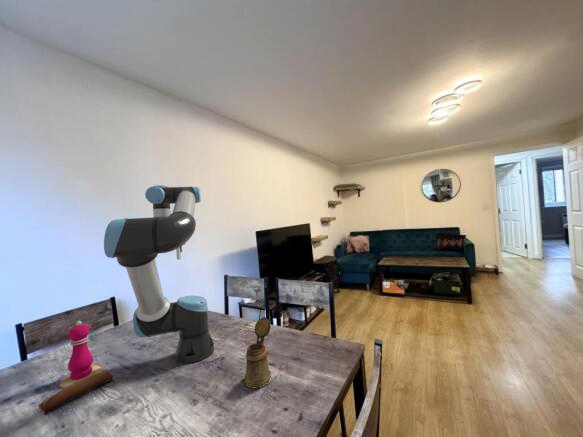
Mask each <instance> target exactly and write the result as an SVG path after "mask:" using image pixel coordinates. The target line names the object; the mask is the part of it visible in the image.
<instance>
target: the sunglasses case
mask: <svg viewBox="0 0 583 437" xmlns="http://www.w3.org/2000/svg"><path fill="white" fill-rule="evenodd" d="M113 379H114V377H113V374H112V372H110V371H103V372H101V373H98V374H94V375H92V376H89V377H87V378H84V379H82V380H80V381H78V382H75V383H73V384H72V385H69V386H67V387H65V388H62V389H60V390H59V391H57V392H56V393H55V394H53V395H51V396H49V397H47V398H46V399H44V400H43V401H42V402H39V404H38V407H40V409H41V410H42V412H43V413H44V415H46V414H49V413H50V412H53V410H56V409H58V408H59V407H62V406H63V405H64V404H66V403H68V402H70V401H72V400H73V399H75V398H78V397H79V396H82V395H84V394H85V393H87V392H89V391H92V390H94V389H96V388H98V387H100V386H102V385H104V384H106V383H109V382H111V381H113Z"/></svg>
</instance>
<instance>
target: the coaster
mask: <svg viewBox="0 0 583 437" xmlns="http://www.w3.org/2000/svg"><path fill="white" fill-rule="evenodd" d="M91 366H92V373H91V374H90V375H88V376H87V377H89V376H92V375H94V374H98V373H102V371H103V368H102V367H101V366H100V365H91ZM70 374H71V372H70V373H69V374H67V375H65V376H64V377H62V379H61V380H60V381H59V387H61V388H62V389H63V388H65V387H67V386H69V385H72V384H73V383H75V382H78V381H80V380H82V379H84V378H82V379H79V380H71V379H70ZM87 377H85V378H87Z"/></svg>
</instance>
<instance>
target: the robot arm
mask: <svg viewBox="0 0 583 437" xmlns="http://www.w3.org/2000/svg"><path fill="white" fill-rule="evenodd" d="M144 194H145V198H146V201H147V202H149V203H150V204H152V211H153V212H152V215H153V217H138V218H137V217H135V218H127V217H124V218H118V219H112V220H111V221H110V222H109V223H108V224H107V226H106V229H105V231H104V237H103V238H104V239H103V250H104V254H105V256H106V257H107V258H109V259H110V258H111V259H115V258H116V261H117V263H118V264H119V265H120V266H121V267H123V268H125V269H126V272H127V275H128V278H129V280H130V284H131V287H132V290H133V293H134V296H135V299H136V302H137V305H138V306H137V307H136V309H135V311H134V313H133V315H132V324H133V330H134V333H135V335H136V336H138V337H139V338H152V337H155V336H162V335H166V334H167V335H168V334H173V333H178V335H179V339H178V342H177V344H176V345H177V346H176V349H175V360H176V361H177V362H179V363H182V364H190V363H196V362H199V361H202V360H206V359H207V358H208V357H210V356H211V355H212V354H213V353H214V352H215V343H214V340H213V338H212V336H211V333H210V327H209V326H210V325H209V312H208V311H209V307H208V301H207V299H206V298H205V297H203V296H201V295H184V296H180V297H179V298H177V300H176V301H174V302H173V301H172V302H170V300H169V299H168V297H166V296H164V295H165V294H164V293H163V292H164V291H163V288H162V283H161V279H160V274H159V271H158V267H157V262H156V258H157V257H158V255H159V254H166V253H170V252H174V251H175V250H176V251H175V252H176V260H179V261H180V260H182V256H181V253H183V248H182V247H183V246H184V245H186V243H187V242H188V241H189V240H190V239H191V238H192V236H193V235H194V233H195V230H196V222H197V221H196V219H195V217H194V215H195V208H196V207H195V206H196V204H198V203H201V201H202V200H201V189H200V187H199V186H193V185H192V186H168V185H162V184H161V185H159V184H158V185H152V186H150V187H148V188H147V189H146V191H145V193H144ZM171 204H172V205H173V204H174V207H173V208H172V209H173V210H172V211H171Z"/></svg>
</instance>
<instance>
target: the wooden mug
mask: <svg viewBox="0 0 583 437" xmlns="http://www.w3.org/2000/svg"><path fill="white" fill-rule="evenodd" d="M270 331H271V322H270V320H269V319H268V318H267V317H265V316H263V317H261V318H260V319H258V320H257V321H256V322H255V324H254V334H255V335H256V337H257V338H256V342H255V343H251V344H249V345H248V346H247V350H246V353H245V354H246V355H245V357H246V367H245V368H246V369H245V375H244V383H246V384H245V385H246V386H247V385H248V386H250V387H249V388H251V387H260V386H263V385H265V384H266V383H268V382H269V380H270V378H271V379H272V375H271V374H272V373H271V370H270V365H269V362H268V355H267V354H268V352H267V349H266V345H264V342H265V337H266V336H267V335H269V334H270ZM269 383H270V382H269ZM248 386H247V387H248ZM260 388H261V387H260Z"/></svg>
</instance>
